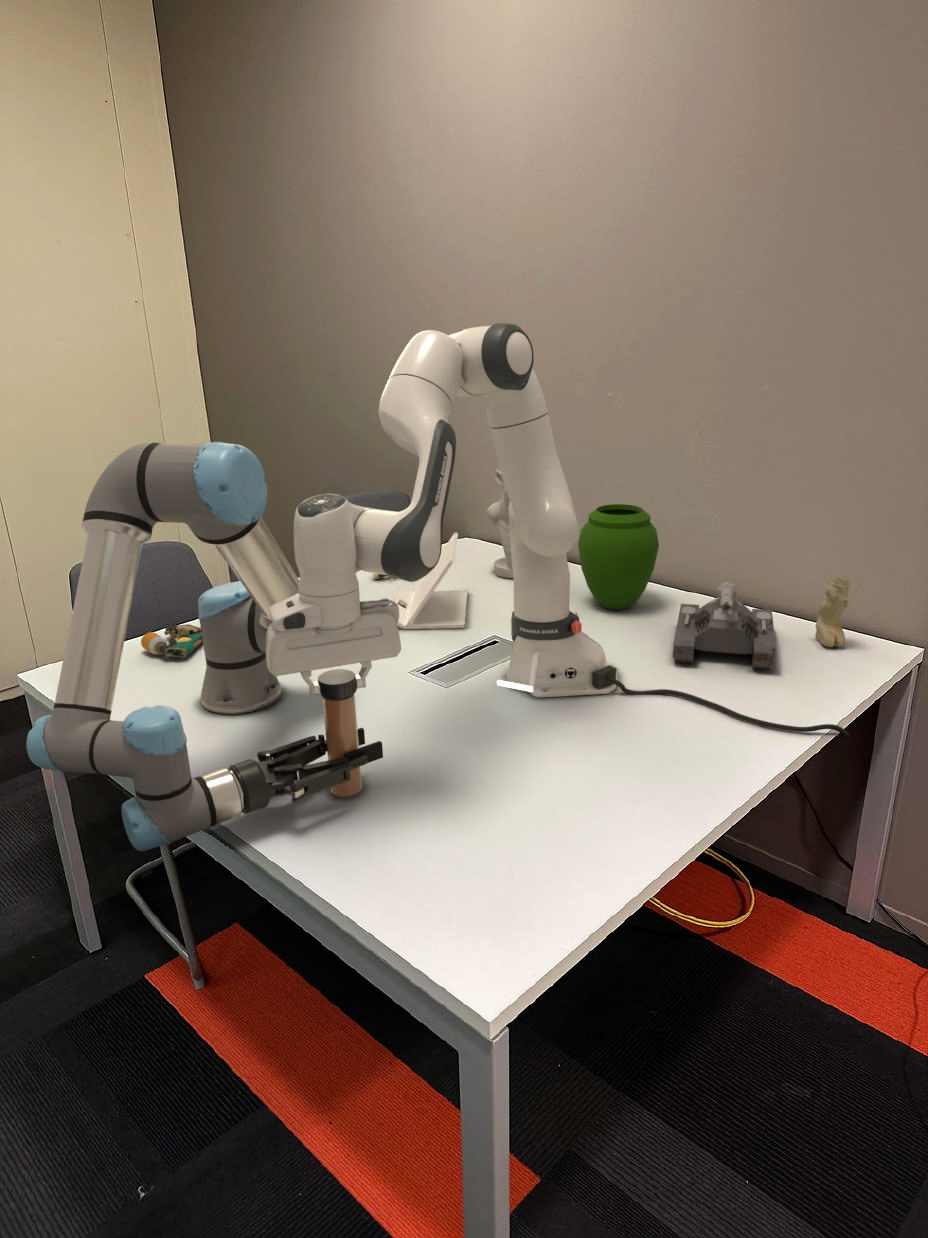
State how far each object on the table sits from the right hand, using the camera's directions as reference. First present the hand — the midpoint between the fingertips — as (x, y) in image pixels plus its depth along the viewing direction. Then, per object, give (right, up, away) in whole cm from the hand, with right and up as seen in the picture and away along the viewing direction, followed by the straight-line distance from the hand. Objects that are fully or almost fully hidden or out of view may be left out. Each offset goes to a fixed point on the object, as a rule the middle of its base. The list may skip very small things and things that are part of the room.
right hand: (337, 690), depth 131 cm
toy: (+76, +5, +56) cm, 94 cm away
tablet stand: (+11, +13, +83) cm, 85 cm away
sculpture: (+99, +6, +56) cm, 114 cm away
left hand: (+5, -9, +7) cm, 12 cm away
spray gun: (-46, +5, +65) cm, 80 cm away
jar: (0, -16, +6) cm, 17 cm away
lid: (0, +2, -1) cm, 2 cm away
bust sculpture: (+37, +23, +108) cm, 116 cm away
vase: (+58, +14, +83) cm, 102 cm away
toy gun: (0, +25, +115) cm, 118 cm away
